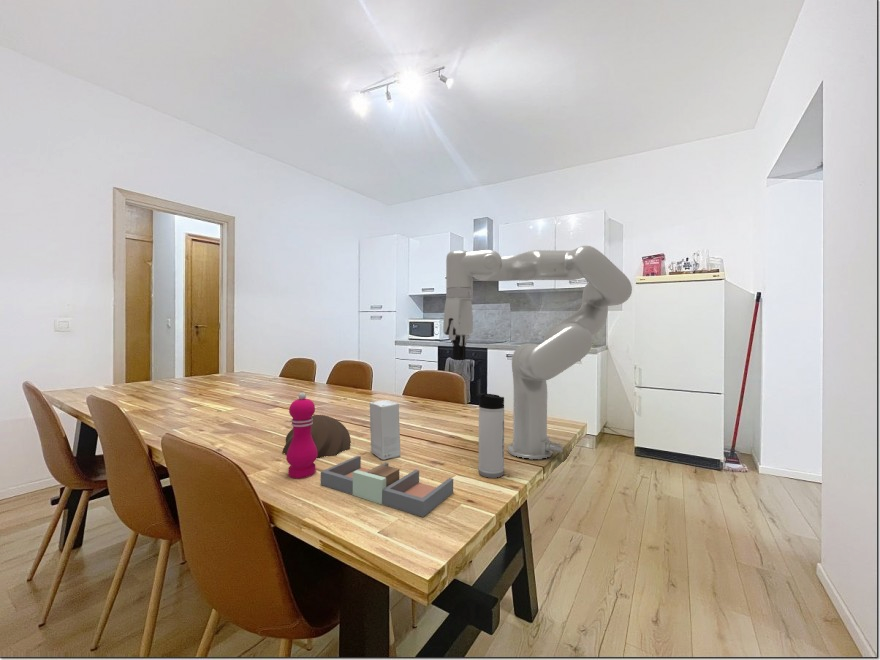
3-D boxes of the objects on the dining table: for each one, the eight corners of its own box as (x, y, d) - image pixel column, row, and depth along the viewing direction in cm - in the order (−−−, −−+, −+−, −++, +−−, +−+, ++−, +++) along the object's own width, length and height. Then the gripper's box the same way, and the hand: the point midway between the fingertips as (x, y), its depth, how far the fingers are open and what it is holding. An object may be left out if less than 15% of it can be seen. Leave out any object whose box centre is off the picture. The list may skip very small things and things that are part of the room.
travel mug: (472, 470, 93) (473, 391, 92) (495, 466, 95) (495, 390, 95) (485, 480, 87) (485, 396, 87) (508, 476, 89) (509, 394, 89)
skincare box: (400, 456, 102) (401, 403, 102) (380, 461, 99) (381, 406, 99) (387, 448, 109) (388, 398, 109) (368, 452, 106) (369, 400, 106)
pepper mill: (291, 468, 94) (291, 390, 94) (320, 467, 94) (320, 389, 94) (281, 479, 87) (282, 395, 86) (313, 478, 87) (313, 395, 87)
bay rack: (453, 492, 80) (453, 469, 80) (422, 517, 70) (423, 491, 70) (357, 467, 95) (357, 447, 94) (320, 484, 84) (320, 463, 84)
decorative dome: (267, 452, 106) (267, 418, 105) (319, 435, 123) (319, 405, 123) (315, 465, 96) (315, 427, 96) (364, 444, 114) (364, 412, 114)
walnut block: (399, 488, 82) (399, 468, 82) (385, 497, 78) (385, 476, 78) (382, 483, 85) (382, 464, 85) (367, 492, 81) (367, 471, 81)
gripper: (459, 297, 112) (459, 357, 113) (434, 293, 99) (434, 361, 100) (482, 296, 109) (482, 358, 109) (459, 292, 96) (459, 362, 96)
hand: (459, 359), depth 104 cm, fingers closed
